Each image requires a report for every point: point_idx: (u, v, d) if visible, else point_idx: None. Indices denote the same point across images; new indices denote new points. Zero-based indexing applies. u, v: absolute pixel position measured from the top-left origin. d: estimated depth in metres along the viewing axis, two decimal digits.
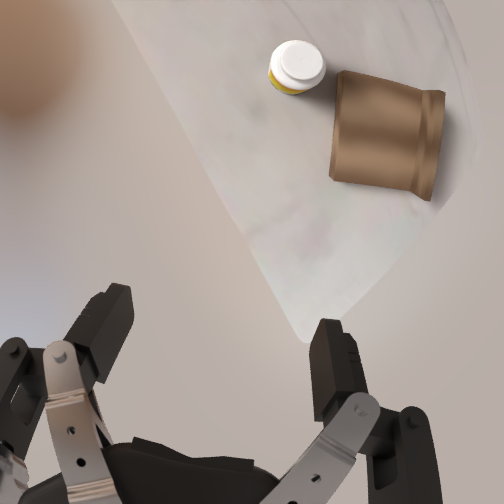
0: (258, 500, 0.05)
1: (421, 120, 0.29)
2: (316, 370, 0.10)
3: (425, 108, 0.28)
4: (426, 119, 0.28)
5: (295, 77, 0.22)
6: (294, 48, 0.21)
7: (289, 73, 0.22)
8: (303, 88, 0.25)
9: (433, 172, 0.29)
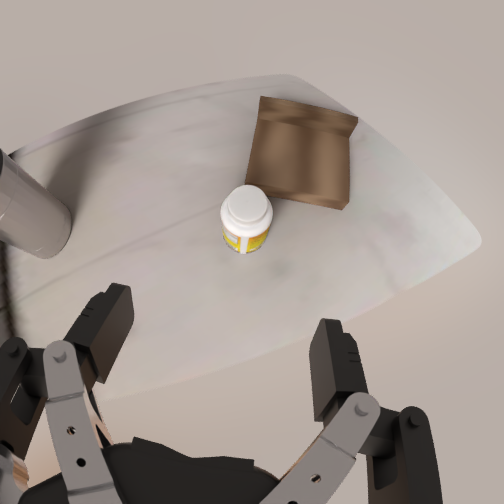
0: (258, 500, 0.05)
1: (286, 122, 0.39)
2: (316, 370, 0.10)
3: (275, 117, 0.38)
4: (285, 116, 0.38)
5: (265, 210, 0.28)
6: (235, 207, 0.28)
7: (261, 215, 0.28)
8: (272, 210, 0.30)
9: (333, 112, 0.36)
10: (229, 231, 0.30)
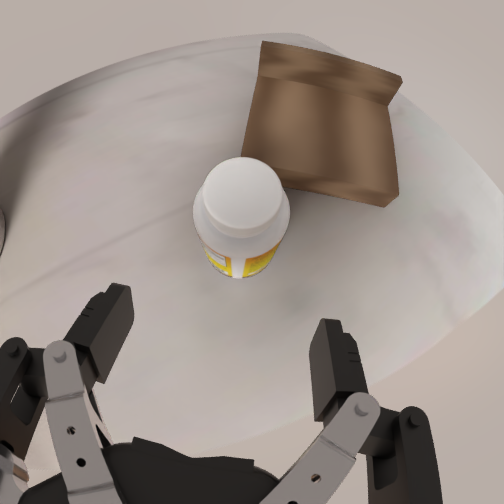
0: (258, 500, 0.05)
1: (299, 80, 0.25)
2: (316, 370, 0.10)
3: (284, 72, 0.24)
4: (299, 71, 0.24)
5: (278, 206, 0.14)
6: (216, 200, 0.14)
7: (270, 215, 0.14)
8: (288, 205, 0.16)
9: (368, 66, 0.22)
10: (209, 247, 0.16)
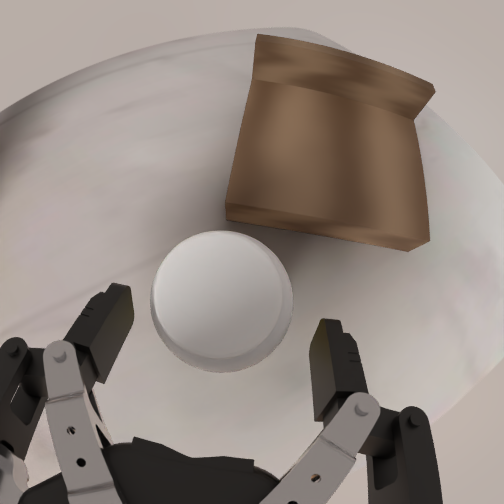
0: (258, 500, 0.05)
1: (305, 85, 0.19)
2: (316, 370, 0.10)
3: (285, 74, 0.19)
4: (306, 74, 0.18)
5: (274, 320, 0.08)
6: (175, 312, 0.08)
7: (261, 338, 0.08)
8: (291, 295, 0.11)
9: (394, 70, 0.16)
10: None
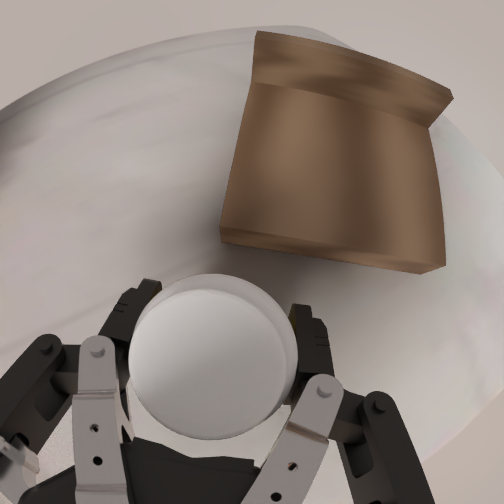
0: (241, 497, 0.05)
1: (311, 89, 0.17)
2: None
3: (289, 77, 0.17)
4: (311, 76, 0.16)
5: (276, 399, 0.06)
6: (155, 388, 0.06)
7: (259, 419, 0.06)
8: (296, 352, 0.09)
9: (410, 73, 0.14)
10: None
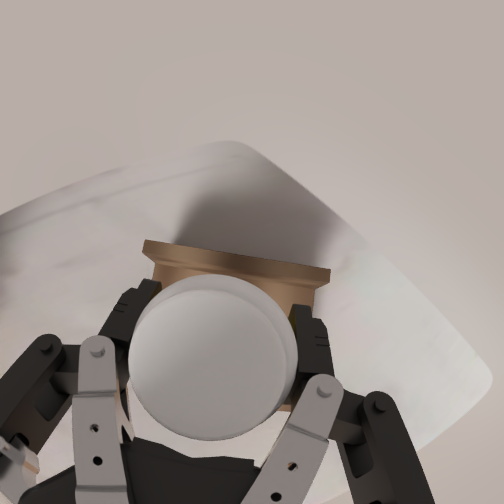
0: (241, 497, 0.05)
1: (201, 270, 0.24)
2: None
3: (180, 265, 0.23)
4: (197, 267, 0.23)
5: (276, 400, 0.06)
6: (155, 389, 0.06)
7: (259, 420, 0.06)
8: (296, 353, 0.09)
9: (281, 267, 0.21)
10: None
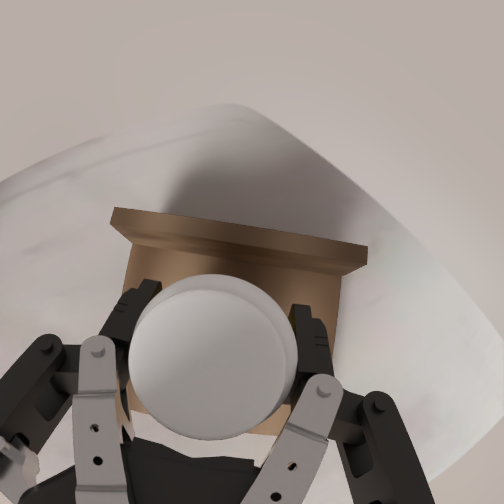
0: (241, 497, 0.05)
1: (191, 252, 0.18)
2: None
3: (163, 245, 0.17)
4: (184, 246, 0.17)
5: (276, 399, 0.06)
6: (155, 389, 0.06)
7: (259, 419, 0.06)
8: (295, 353, 0.09)
9: (302, 242, 0.15)
10: None
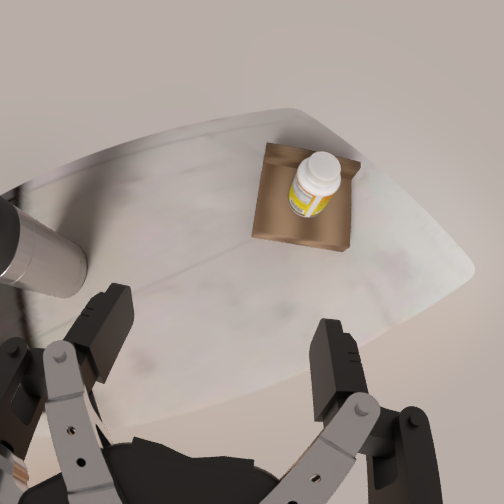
0: (258, 500, 0.05)
1: (291, 166, 0.42)
2: (316, 370, 0.10)
3: (280, 162, 0.41)
4: (290, 162, 0.41)
5: (339, 172, 0.31)
6: (315, 168, 0.31)
7: (337, 175, 0.31)
8: None
9: (337, 158, 0.39)
10: (306, 191, 0.33)
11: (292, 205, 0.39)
